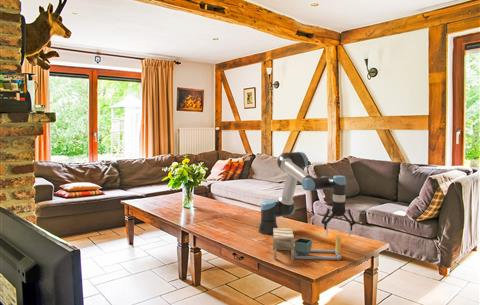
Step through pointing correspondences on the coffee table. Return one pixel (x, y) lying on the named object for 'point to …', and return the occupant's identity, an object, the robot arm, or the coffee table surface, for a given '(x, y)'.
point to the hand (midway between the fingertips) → (337, 235)
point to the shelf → (283, 241)
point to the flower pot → (303, 246)
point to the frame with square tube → (336, 251)
